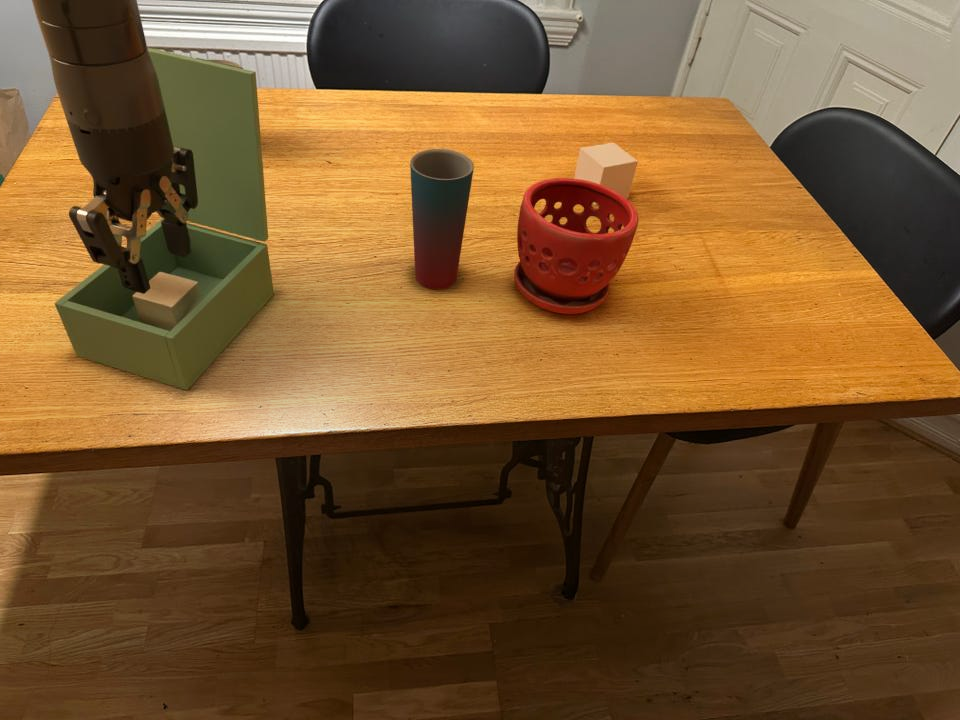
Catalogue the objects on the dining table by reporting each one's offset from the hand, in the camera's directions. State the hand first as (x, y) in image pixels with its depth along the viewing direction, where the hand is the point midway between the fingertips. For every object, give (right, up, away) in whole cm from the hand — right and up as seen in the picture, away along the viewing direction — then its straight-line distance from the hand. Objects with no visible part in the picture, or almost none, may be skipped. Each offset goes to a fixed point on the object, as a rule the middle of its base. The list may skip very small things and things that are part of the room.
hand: (160, 270), depth 69 cm
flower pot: (+42, 0, +16) cm, 45 cm away
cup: (+26, +1, +16) cm, 31 cm away
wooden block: (-1, -5, +5) cm, 7 cm away
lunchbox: (0, -5, +6) cm, 8 cm away
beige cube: (+49, +16, +35) cm, 63 cm away
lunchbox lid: (+4, +12, +1) cm, 13 cm away
